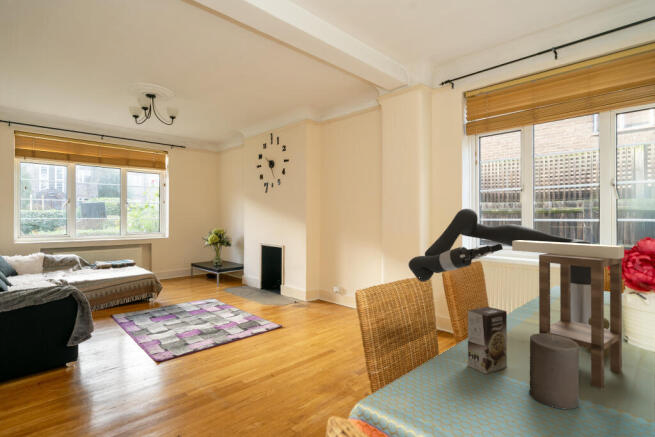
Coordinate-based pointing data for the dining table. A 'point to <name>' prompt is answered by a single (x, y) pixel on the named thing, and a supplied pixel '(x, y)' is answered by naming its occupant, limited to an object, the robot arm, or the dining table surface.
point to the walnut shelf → (594, 333)
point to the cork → (606, 326)
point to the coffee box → (487, 339)
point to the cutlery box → (570, 249)
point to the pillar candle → (554, 370)
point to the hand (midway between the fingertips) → (496, 247)
